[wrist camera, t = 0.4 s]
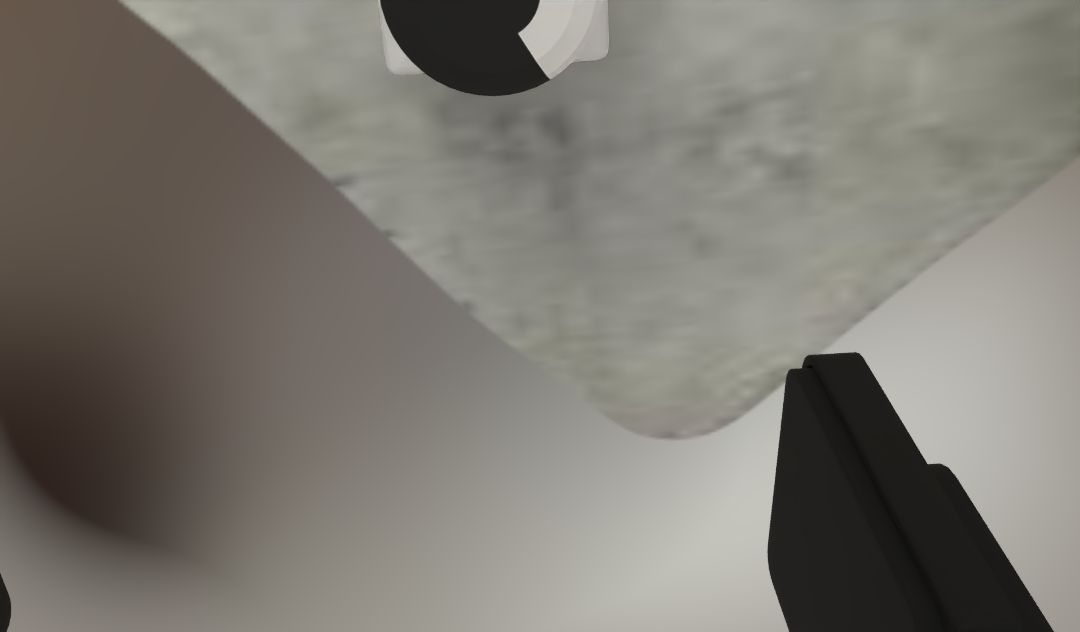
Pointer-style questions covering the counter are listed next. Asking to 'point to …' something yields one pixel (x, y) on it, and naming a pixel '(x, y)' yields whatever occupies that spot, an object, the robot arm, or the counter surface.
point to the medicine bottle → (491, 40)
